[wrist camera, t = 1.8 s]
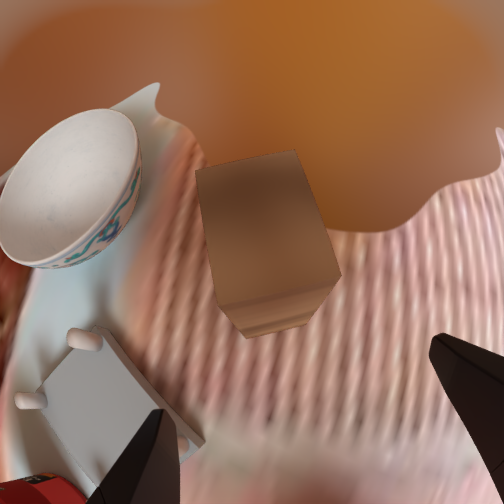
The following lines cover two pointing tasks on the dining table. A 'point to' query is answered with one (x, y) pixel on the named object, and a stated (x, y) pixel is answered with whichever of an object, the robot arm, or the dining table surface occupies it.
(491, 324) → the dining table surface
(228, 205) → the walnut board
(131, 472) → the robot arm
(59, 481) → the canned food
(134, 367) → the peg seat
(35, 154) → the chinaware
